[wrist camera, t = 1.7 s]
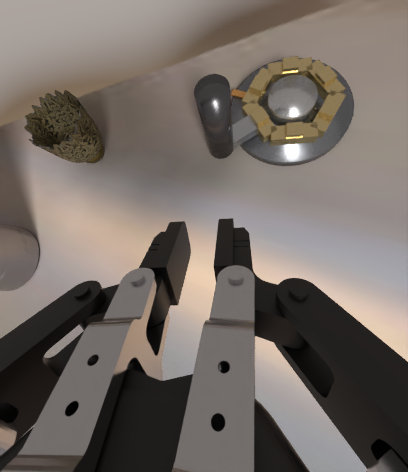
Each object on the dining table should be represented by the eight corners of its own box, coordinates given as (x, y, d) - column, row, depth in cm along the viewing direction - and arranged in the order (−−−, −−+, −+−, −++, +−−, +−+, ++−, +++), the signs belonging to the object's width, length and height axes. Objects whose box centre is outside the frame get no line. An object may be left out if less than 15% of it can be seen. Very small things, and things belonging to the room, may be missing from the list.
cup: (68, 145, 34) (17, 107, 27) (109, 123, 34) (69, 78, 26) (80, 185, 33) (30, 156, 25) (123, 163, 32) (85, 127, 24)
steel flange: (268, 187, 28) (271, 176, 25) (211, 104, 31) (208, 86, 28) (376, 123, 27) (393, 105, 24) (304, 46, 30) (311, 21, 28)
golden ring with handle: (234, 190, 27) (229, 149, 18) (189, 120, 30) (167, 56, 21) (358, 116, 26) (417, 35, 17) (300, 51, 29) (324, -47, 20)
